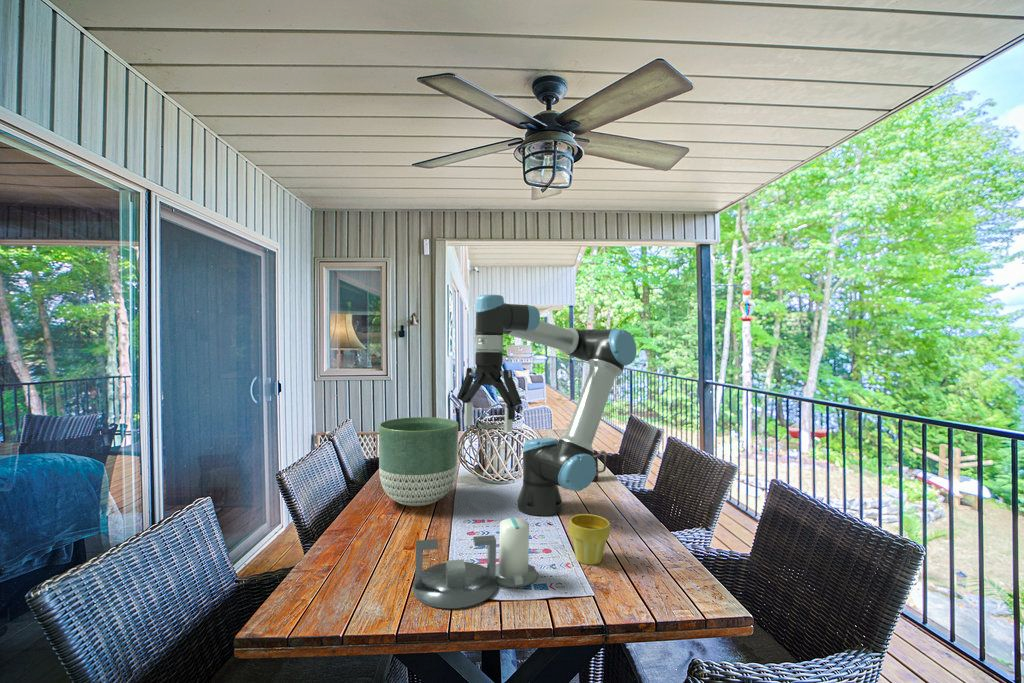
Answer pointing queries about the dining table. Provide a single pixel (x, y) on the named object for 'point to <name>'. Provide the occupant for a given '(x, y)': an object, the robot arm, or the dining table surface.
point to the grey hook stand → (455, 578)
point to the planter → (418, 458)
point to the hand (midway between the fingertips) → (487, 428)
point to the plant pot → (589, 537)
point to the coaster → (510, 583)
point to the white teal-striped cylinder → (514, 549)
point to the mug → (597, 463)
